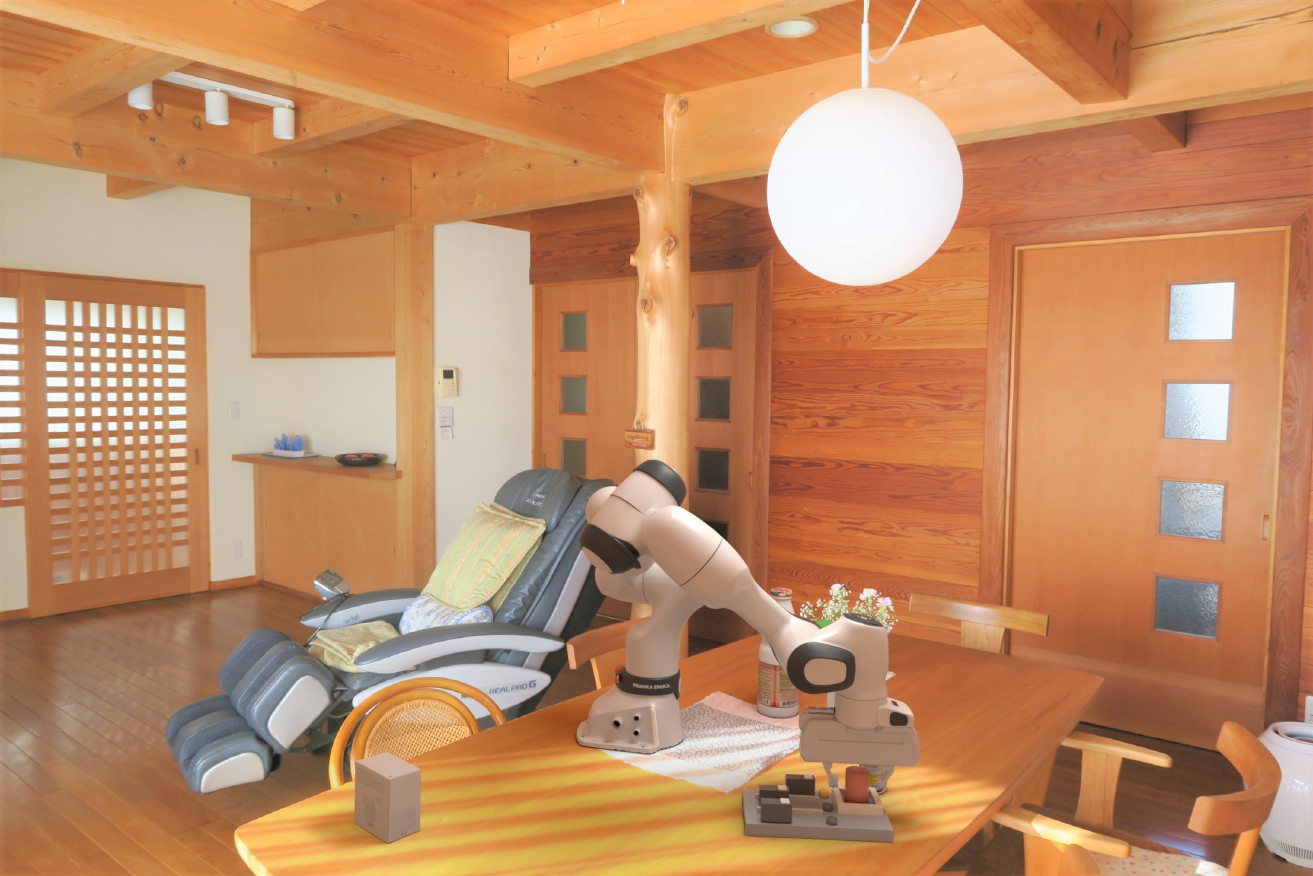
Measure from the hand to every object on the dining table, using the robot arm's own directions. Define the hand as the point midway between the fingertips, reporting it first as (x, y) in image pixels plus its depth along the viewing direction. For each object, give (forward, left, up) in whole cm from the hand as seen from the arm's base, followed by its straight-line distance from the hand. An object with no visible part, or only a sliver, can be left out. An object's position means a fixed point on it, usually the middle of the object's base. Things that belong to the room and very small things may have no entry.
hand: (857, 787), depth 158 cm
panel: (-7, -2, -5) cm, 9 cm away
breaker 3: (-9, +3, -3) cm, 10 cm away
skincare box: (-78, -11, -5) cm, 79 cm away
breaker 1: (-14, -2, -3) cm, 15 cm away
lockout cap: (0, 0, -3) cm, 3 cm away
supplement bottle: (+5, +11, -5) cm, 13 cm away
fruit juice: (-9, +50, -5) cm, 51 cm away
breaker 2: (-14, -7, -3) cm, 17 cm away
